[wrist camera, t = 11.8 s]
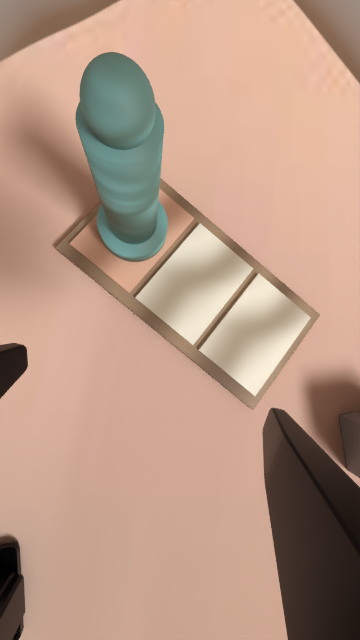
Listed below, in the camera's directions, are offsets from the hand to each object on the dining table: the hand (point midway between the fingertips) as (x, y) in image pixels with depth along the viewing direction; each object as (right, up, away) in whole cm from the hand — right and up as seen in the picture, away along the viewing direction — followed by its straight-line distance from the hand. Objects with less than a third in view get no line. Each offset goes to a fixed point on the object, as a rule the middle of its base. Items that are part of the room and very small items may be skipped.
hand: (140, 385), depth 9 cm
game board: (+3, +6, +14) cm, 15 cm away
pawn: (-3, +10, +12) cm, 16 cm away
